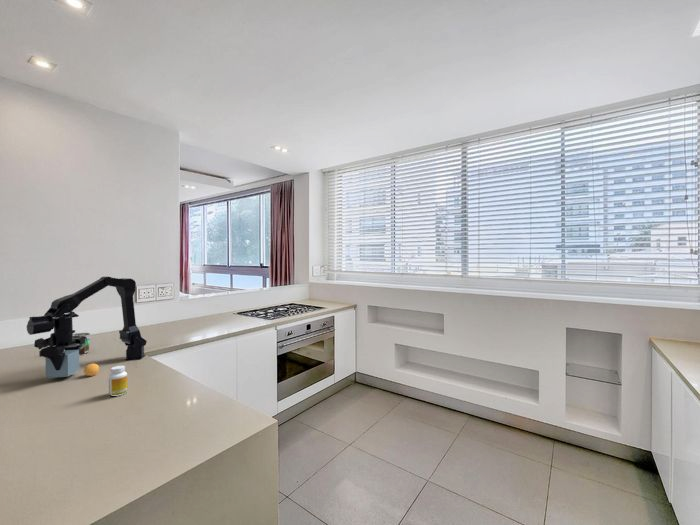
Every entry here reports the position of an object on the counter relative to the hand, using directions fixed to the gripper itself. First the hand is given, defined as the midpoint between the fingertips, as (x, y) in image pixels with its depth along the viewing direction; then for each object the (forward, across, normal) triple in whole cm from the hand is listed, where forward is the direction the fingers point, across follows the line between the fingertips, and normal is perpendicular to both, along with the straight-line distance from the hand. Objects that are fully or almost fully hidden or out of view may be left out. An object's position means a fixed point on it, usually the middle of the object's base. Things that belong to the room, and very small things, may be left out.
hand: (64, 366), depth 130 cm
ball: (+2, 0, +10) cm, 10 cm away
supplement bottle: (+5, +24, +30) cm, 39 cm away
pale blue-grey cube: (+3, 0, 0) cm, 3 cm away
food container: (+5, -40, -14) cm, 43 cm away
